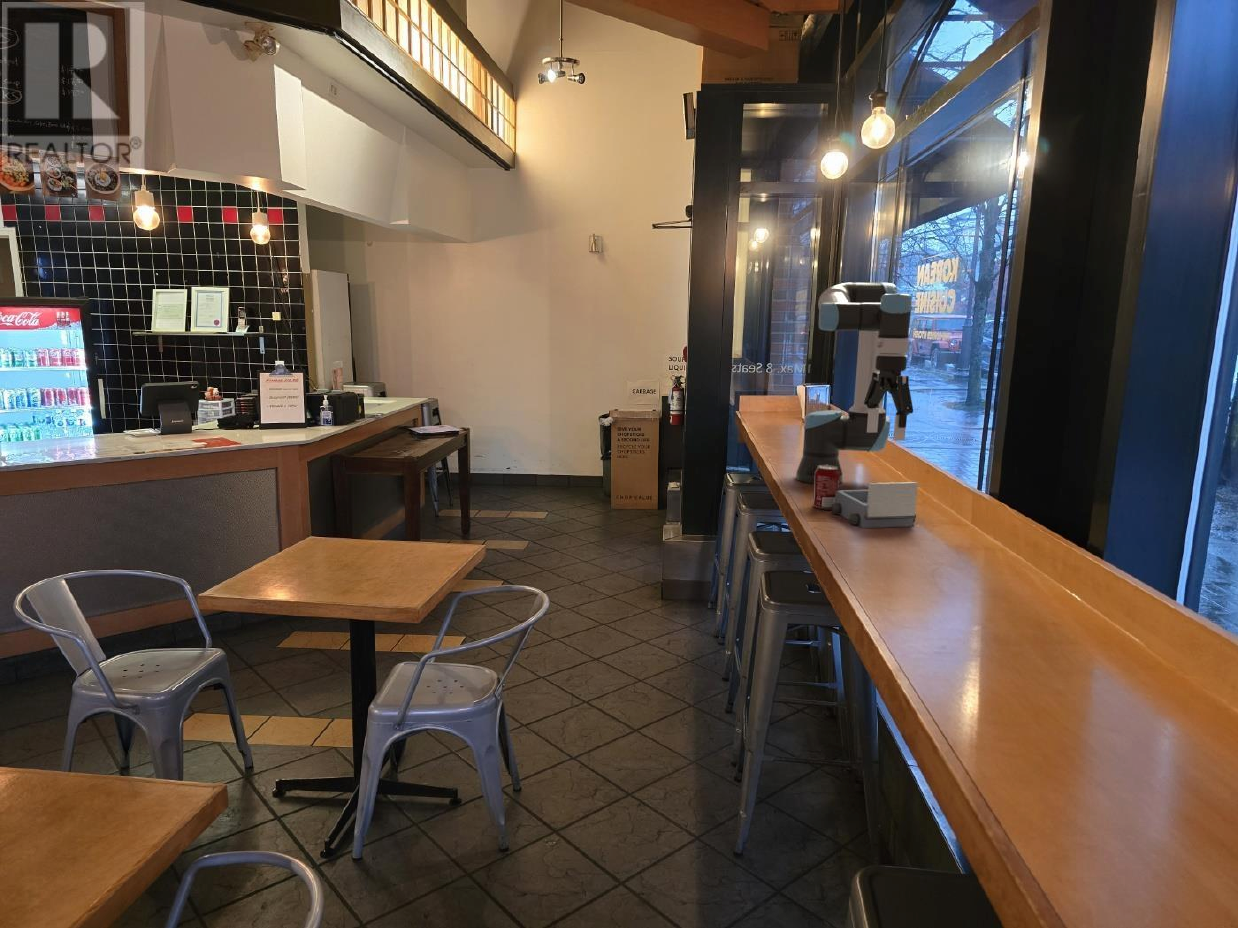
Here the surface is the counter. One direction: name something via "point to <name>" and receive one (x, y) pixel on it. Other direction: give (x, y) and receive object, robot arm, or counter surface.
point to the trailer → (861, 510)
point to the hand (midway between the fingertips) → (884, 436)
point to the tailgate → (891, 501)
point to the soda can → (825, 486)
